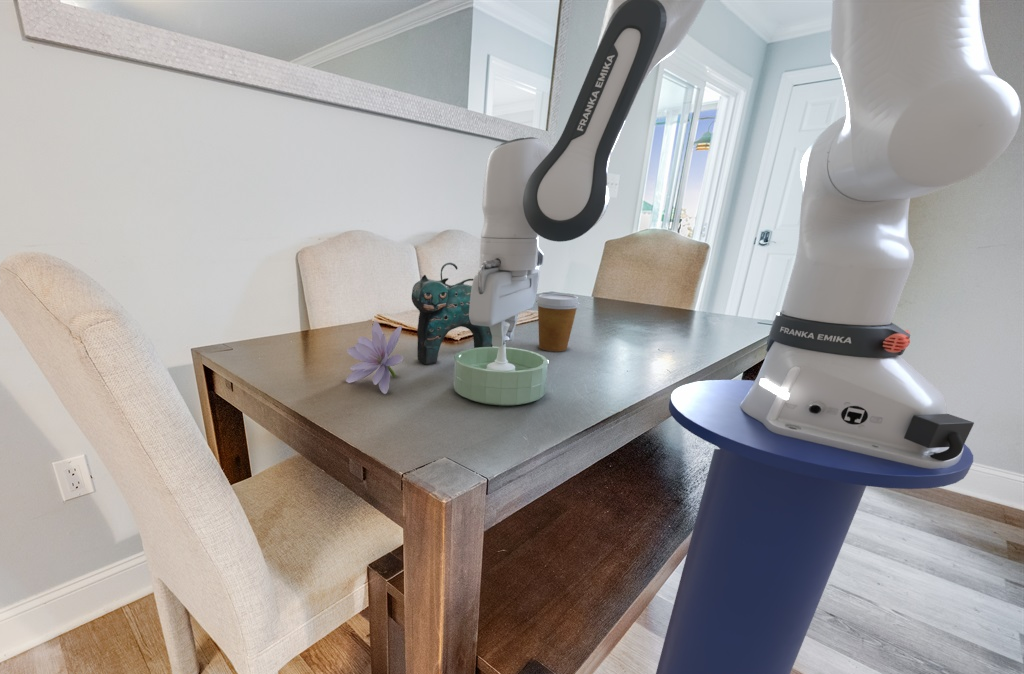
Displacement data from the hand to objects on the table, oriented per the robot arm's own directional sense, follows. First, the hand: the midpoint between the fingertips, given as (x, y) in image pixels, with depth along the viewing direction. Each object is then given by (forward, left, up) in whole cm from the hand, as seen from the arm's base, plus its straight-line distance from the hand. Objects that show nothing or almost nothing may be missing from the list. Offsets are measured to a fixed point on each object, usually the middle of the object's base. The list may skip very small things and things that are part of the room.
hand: (502, 343), depth 77 cm
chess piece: (0, 0, -5) cm, 5 cm away
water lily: (+17, +15, -9) cm, 24 cm away
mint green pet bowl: (0, 0, -9) cm, 9 cm away
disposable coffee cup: (+13, -32, -9) cm, 36 cm away
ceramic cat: (+21, -8, -9) cm, 24 cm away
